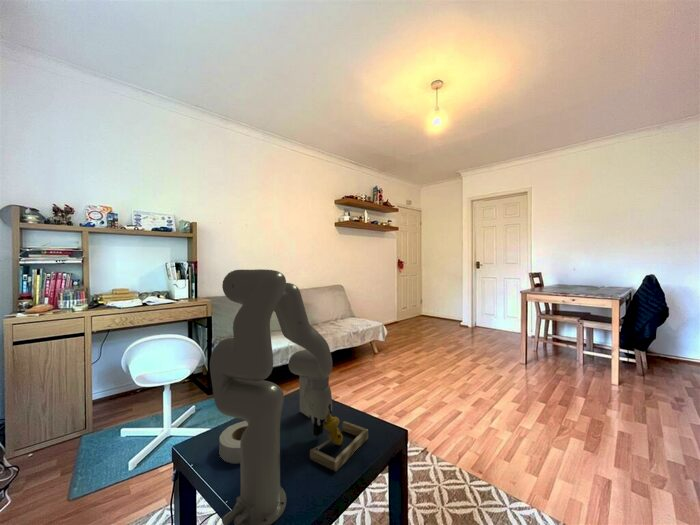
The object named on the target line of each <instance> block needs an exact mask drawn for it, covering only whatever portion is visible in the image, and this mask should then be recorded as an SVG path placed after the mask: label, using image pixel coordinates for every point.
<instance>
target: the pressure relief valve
mask: <svg viewBox="0 0 700 525" xmlns="http://www.w3.org/2000/svg"><path fill="white" fill-rule="evenodd" d="M339 425H340V419H339V417H337V416H332V414H330V415H329V416H327V422H325V421H324V422H323V429H325V431H328V432H329V433H326V434H327V435H326V437H327V439H326V440H325V441H324V442H322V443H321V444H320V445H318V446H316V447H314V448H313V449H315V450H318V451H320V449H322V448H323V447H324V446H326V445H327V444H328V443H330V442H331V441H332V443H333V444H334V445H337V446H340V445H341V444H343V441H344V436H343V434H342V432H341V430H340V428H339V427H338V426H339Z"/></svg>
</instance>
